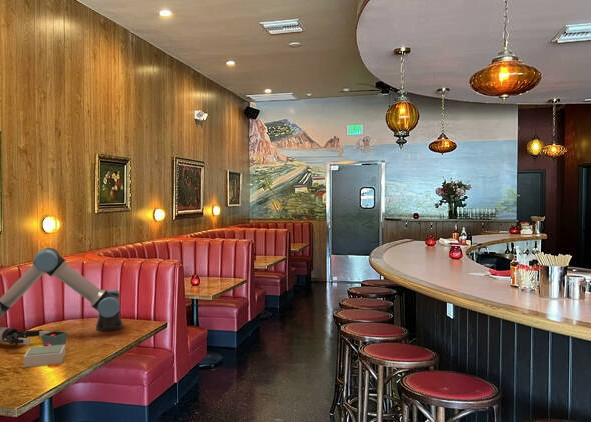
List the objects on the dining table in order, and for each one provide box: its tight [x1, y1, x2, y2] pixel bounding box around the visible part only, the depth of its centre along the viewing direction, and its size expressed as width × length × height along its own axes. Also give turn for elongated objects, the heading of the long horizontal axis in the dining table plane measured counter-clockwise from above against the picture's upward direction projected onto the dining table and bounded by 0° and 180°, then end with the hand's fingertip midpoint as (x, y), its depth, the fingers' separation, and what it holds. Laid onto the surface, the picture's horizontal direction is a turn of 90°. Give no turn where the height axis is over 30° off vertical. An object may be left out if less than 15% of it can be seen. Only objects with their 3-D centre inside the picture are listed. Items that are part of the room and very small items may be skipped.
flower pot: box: [40, 330, 68, 346], centre depth 249 cm, size 9×9×9 cm
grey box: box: [23, 344, 66, 368], centre depth 233 cm, size 16×14×6 cm
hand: (39, 337), depth 251 cm, fingers open, 13 cm apart
